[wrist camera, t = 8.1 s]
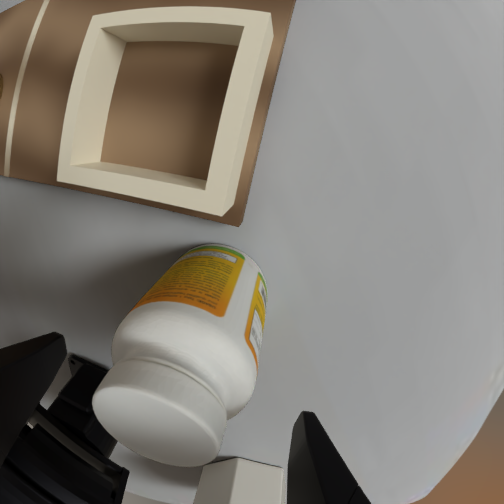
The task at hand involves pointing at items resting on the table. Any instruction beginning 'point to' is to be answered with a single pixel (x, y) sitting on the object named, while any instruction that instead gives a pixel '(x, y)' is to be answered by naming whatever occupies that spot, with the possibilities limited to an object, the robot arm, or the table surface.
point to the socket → (101, 89)
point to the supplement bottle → (186, 358)
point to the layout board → (126, 95)
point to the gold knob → (1, 85)
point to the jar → (241, 483)
